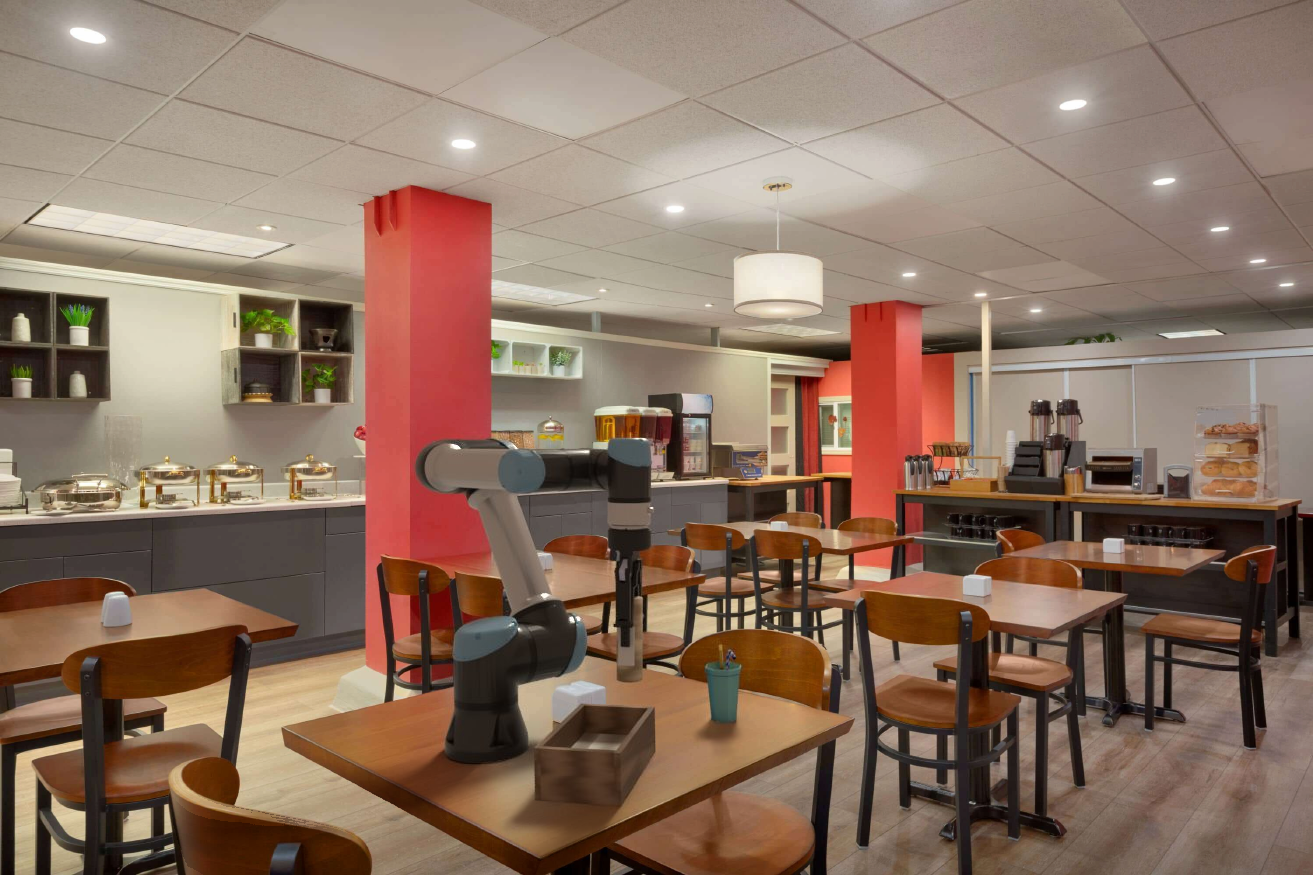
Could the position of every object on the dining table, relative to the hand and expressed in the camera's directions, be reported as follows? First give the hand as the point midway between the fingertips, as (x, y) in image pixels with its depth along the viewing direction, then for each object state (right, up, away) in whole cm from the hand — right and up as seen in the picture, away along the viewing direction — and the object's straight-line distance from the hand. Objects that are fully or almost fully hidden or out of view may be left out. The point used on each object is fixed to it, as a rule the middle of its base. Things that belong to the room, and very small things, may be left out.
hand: (629, 660), depth 143 cm
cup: (+19, -19, +24) cm, 35 cm away
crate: (-5, -18, -4) cm, 19 cm away
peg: (0, -3, 0) cm, 3 cm away
